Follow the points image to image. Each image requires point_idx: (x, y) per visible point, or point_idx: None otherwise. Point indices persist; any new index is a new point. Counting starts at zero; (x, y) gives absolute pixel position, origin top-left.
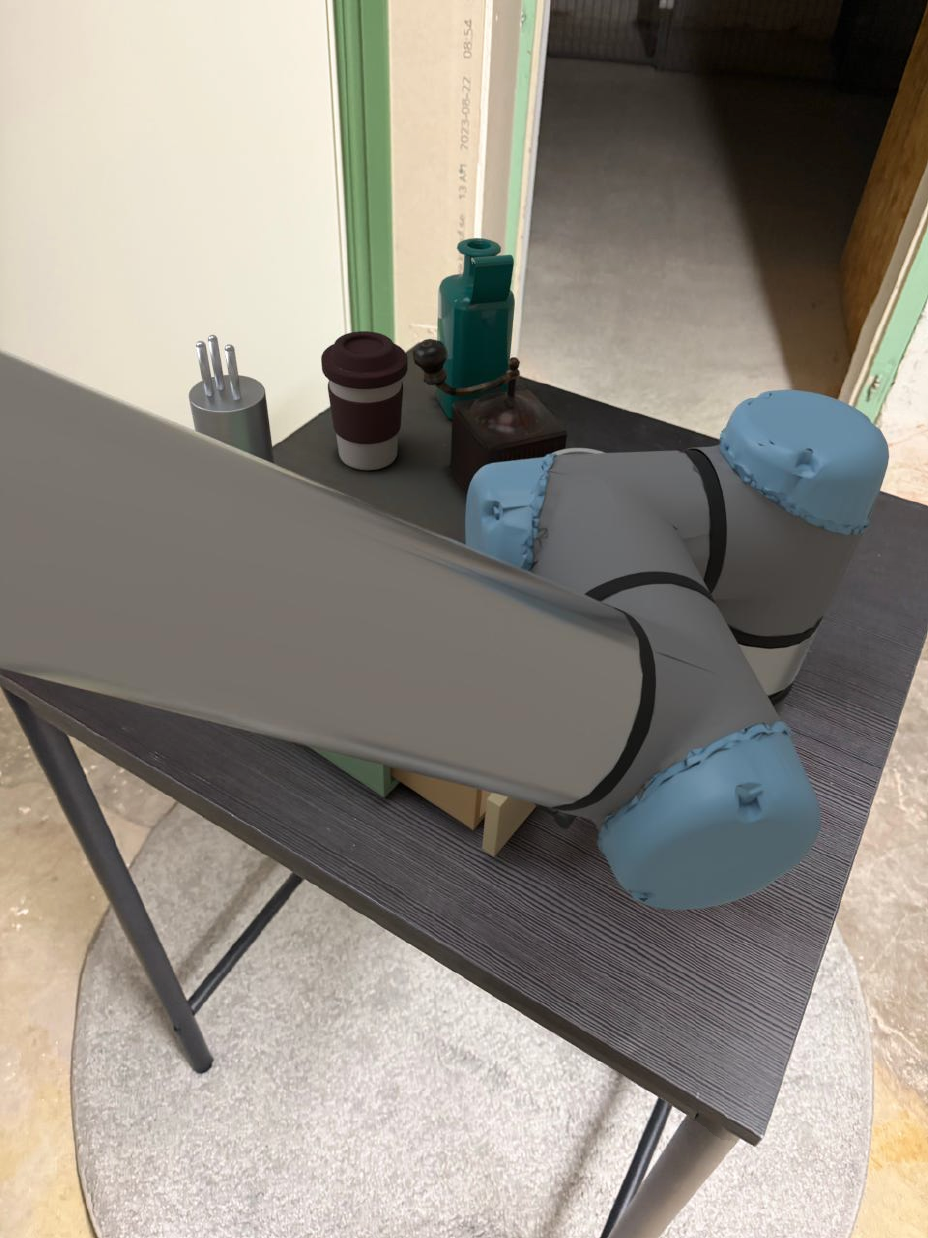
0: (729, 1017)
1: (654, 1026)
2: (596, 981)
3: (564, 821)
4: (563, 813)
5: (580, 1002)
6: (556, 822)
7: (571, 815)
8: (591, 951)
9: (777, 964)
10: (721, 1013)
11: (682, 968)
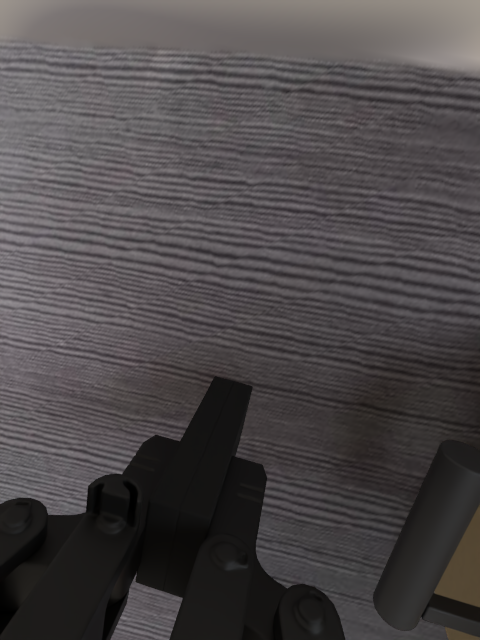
0: (38, 206)
1: (139, 124)
2: (264, 158)
3: (461, 460)
4: (476, 482)
5: (281, 97)
6: (476, 449)
7: (448, 482)
8: (291, 215)
9: (10, 327)
10: (51, 206)
11: (132, 257)
